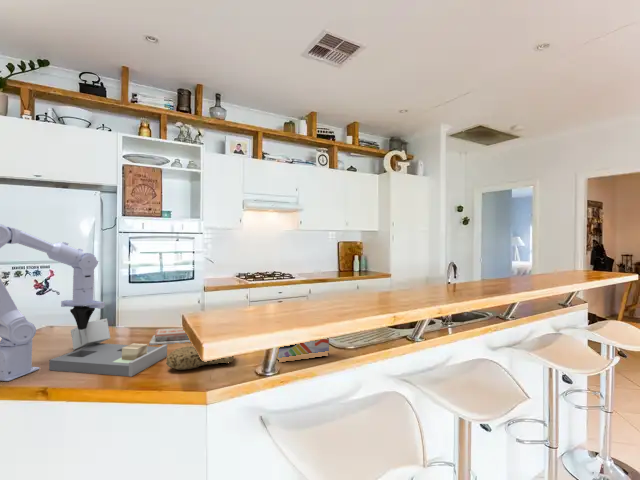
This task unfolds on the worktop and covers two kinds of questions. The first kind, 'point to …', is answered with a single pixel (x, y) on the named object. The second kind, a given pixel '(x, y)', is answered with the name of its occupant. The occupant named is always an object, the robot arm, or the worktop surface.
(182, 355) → the sponge
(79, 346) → the supplement box
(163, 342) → the packaged product
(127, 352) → the block
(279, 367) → the worktop surface
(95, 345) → the platform
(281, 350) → the cake pan box
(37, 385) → the worktop surface
